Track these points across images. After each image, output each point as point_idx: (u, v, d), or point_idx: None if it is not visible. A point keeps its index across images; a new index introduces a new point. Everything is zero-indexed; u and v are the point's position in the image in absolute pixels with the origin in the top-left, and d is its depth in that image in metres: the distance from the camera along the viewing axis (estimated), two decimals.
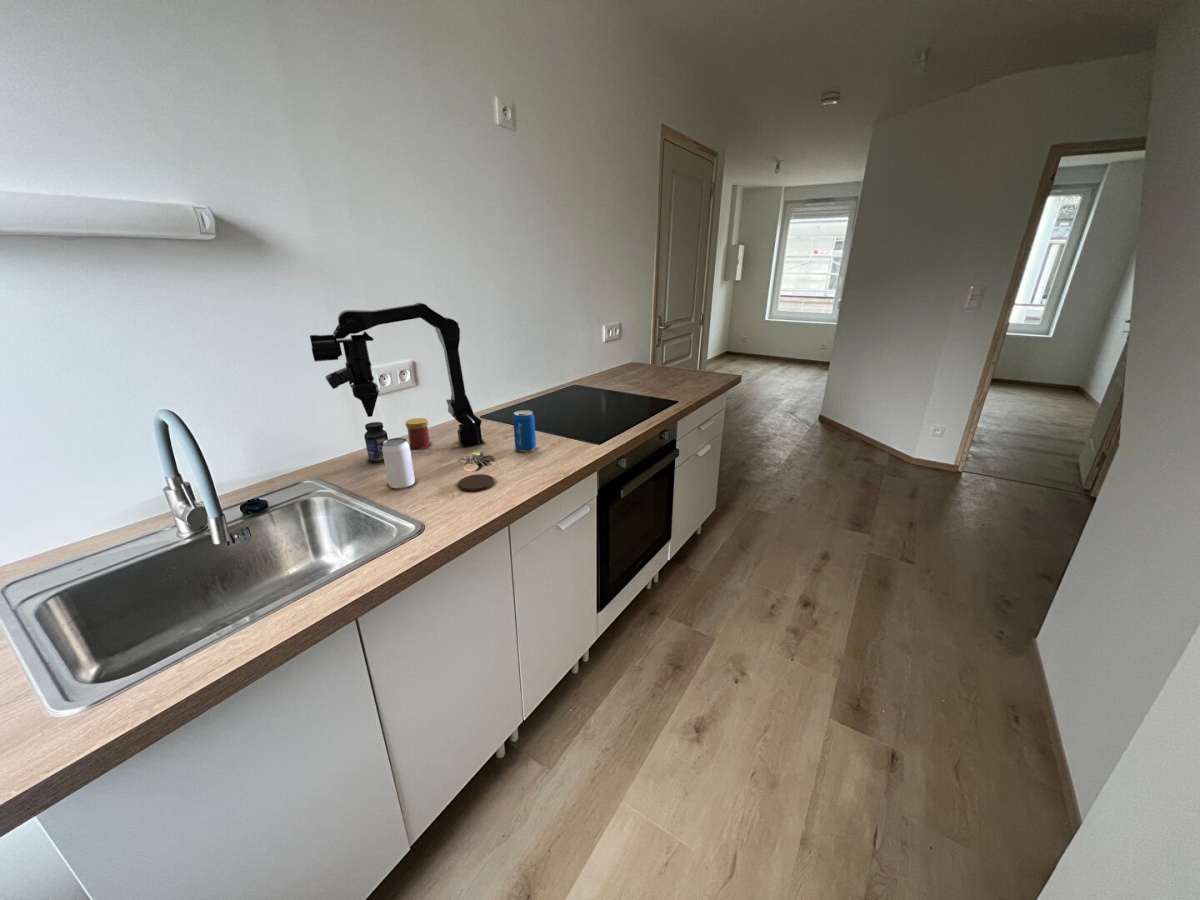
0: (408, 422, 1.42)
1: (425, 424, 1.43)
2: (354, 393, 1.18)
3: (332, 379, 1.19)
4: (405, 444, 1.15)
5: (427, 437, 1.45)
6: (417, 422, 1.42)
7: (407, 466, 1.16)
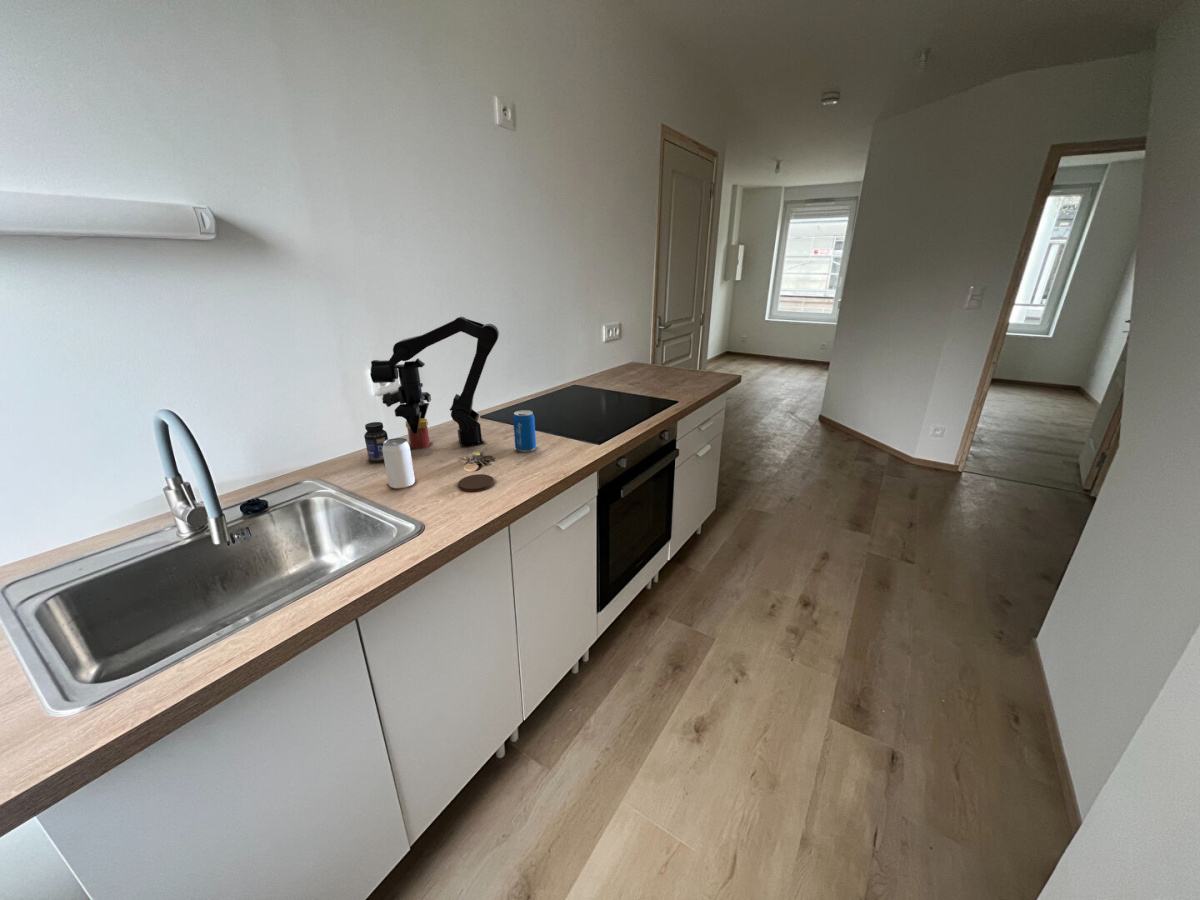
0: None
1: (425, 424, 1.43)
2: (395, 414, 1.33)
3: (384, 399, 1.36)
4: (405, 444, 1.15)
5: (427, 437, 1.45)
6: None
7: (407, 466, 1.16)
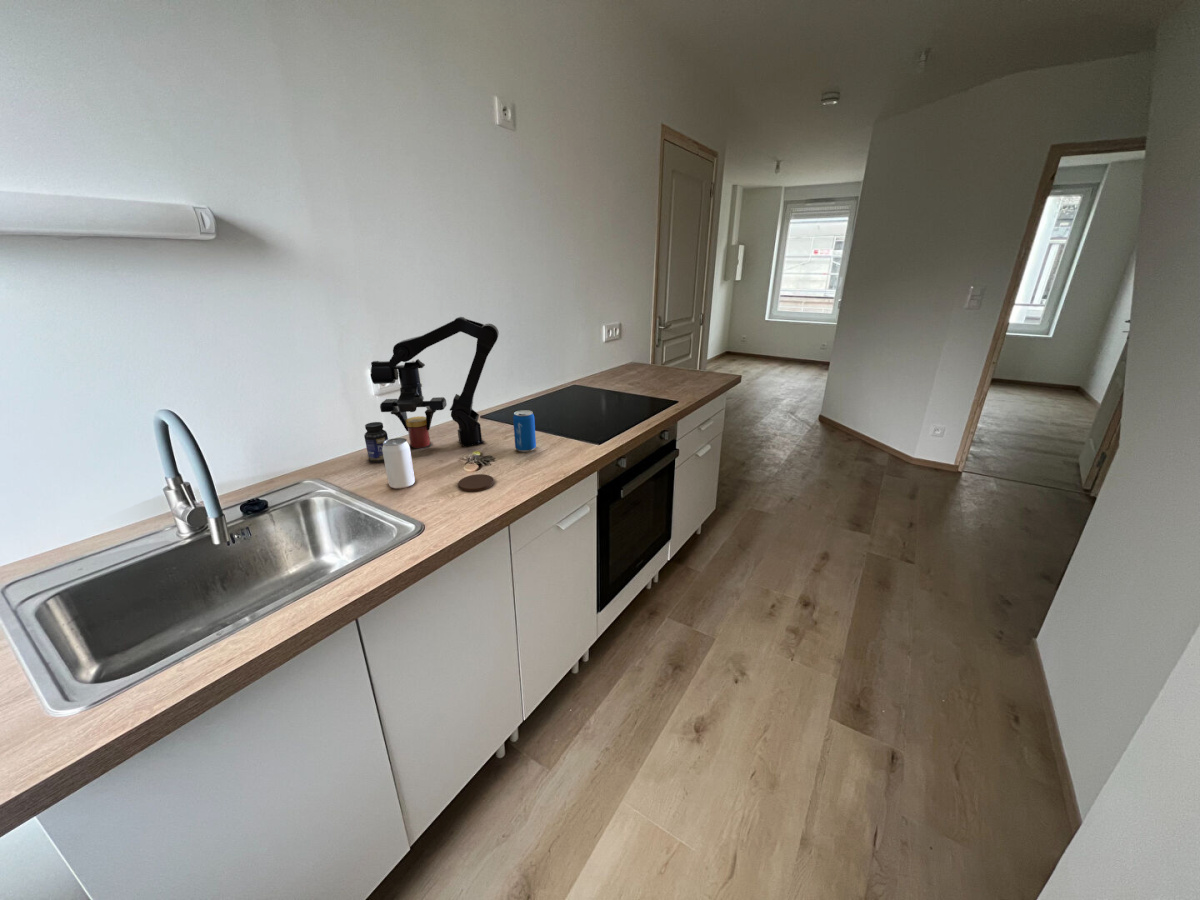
0: (418, 421, 1.41)
1: None
2: (442, 407, 1.40)
3: (420, 401, 1.34)
4: (405, 444, 1.15)
5: (427, 436, 1.45)
6: (422, 418, 1.44)
7: (407, 466, 1.16)
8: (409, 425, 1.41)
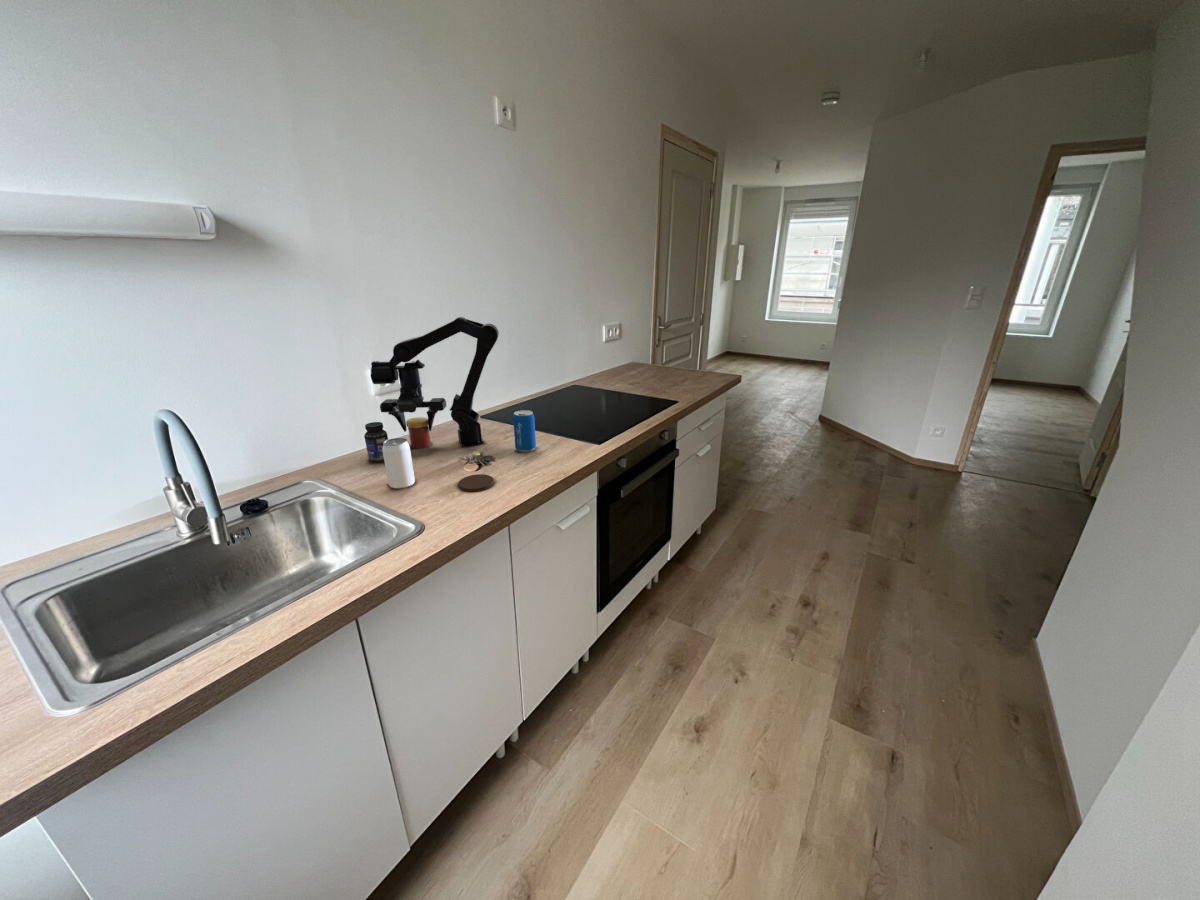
0: (419, 422, 1.41)
1: None
2: (441, 408, 1.40)
3: (420, 402, 1.34)
4: (405, 444, 1.15)
5: (428, 437, 1.45)
6: (423, 419, 1.44)
7: (407, 466, 1.16)
8: (410, 426, 1.41)
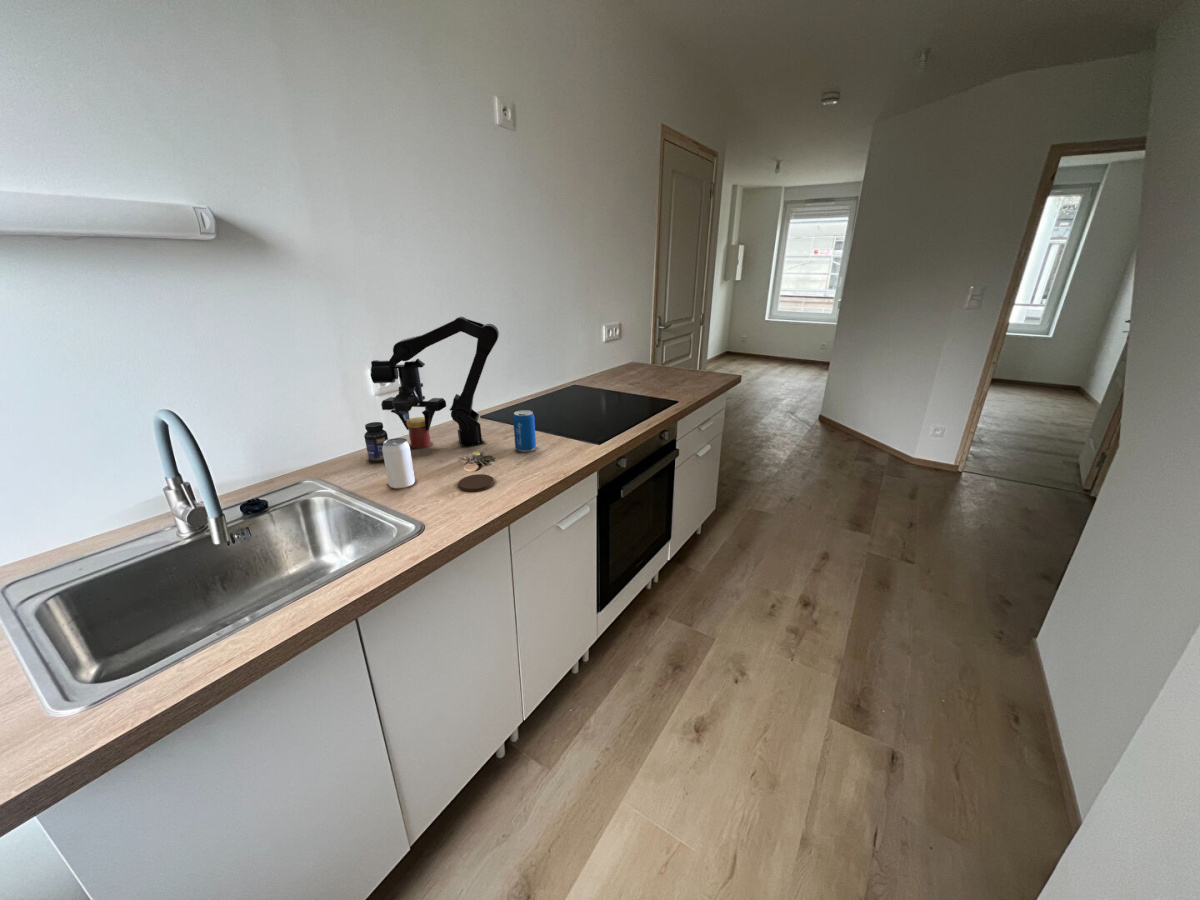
0: None
1: None
2: (438, 409, 1.38)
3: (414, 401, 1.33)
4: (405, 444, 1.15)
5: (428, 437, 1.45)
6: (417, 418, 1.45)
7: (407, 466, 1.16)
8: (423, 424, 1.42)
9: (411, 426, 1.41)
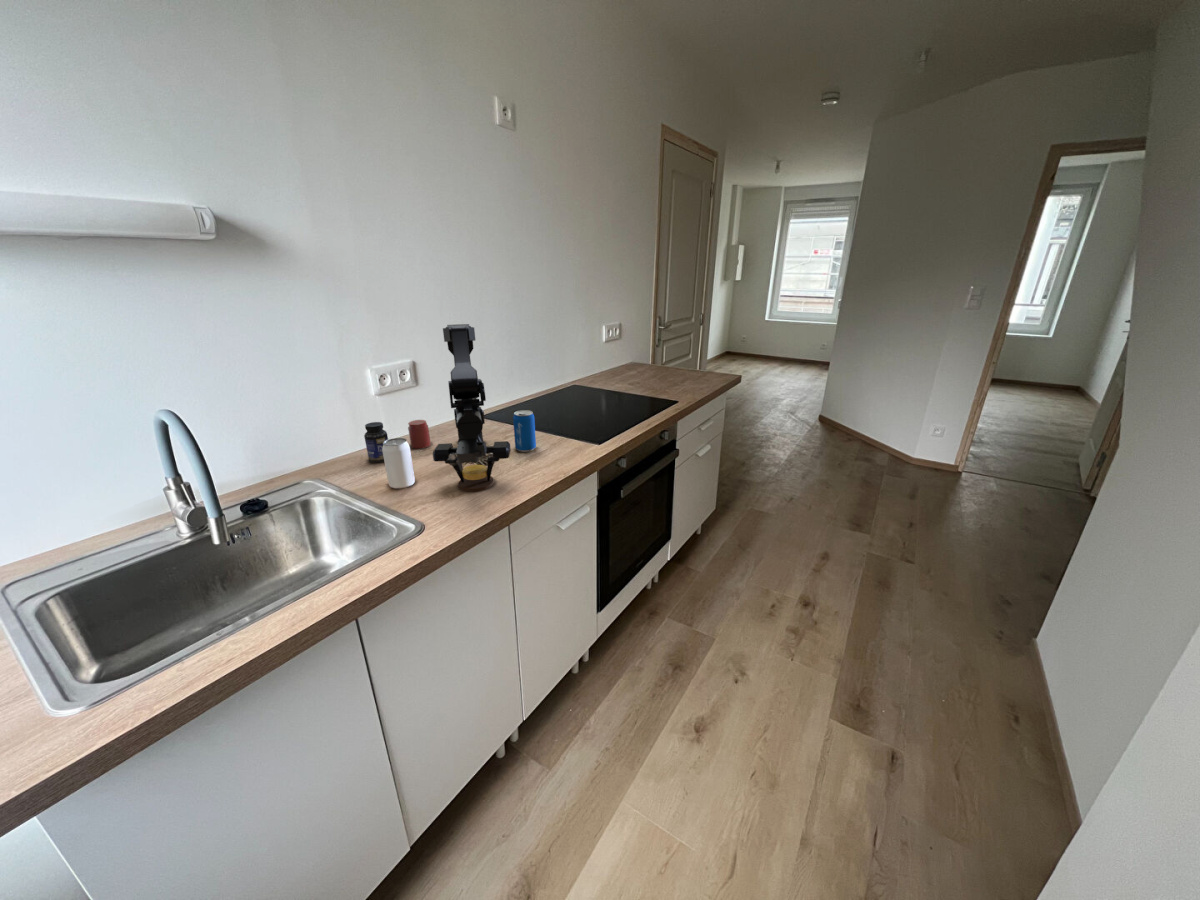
0: (483, 467, 1.19)
1: None
2: (507, 455, 1.14)
3: (485, 450, 1.09)
4: (405, 444, 1.15)
5: (428, 437, 1.45)
6: (473, 467, 1.19)
7: (407, 466, 1.16)
8: (485, 475, 1.17)
9: (471, 478, 1.15)
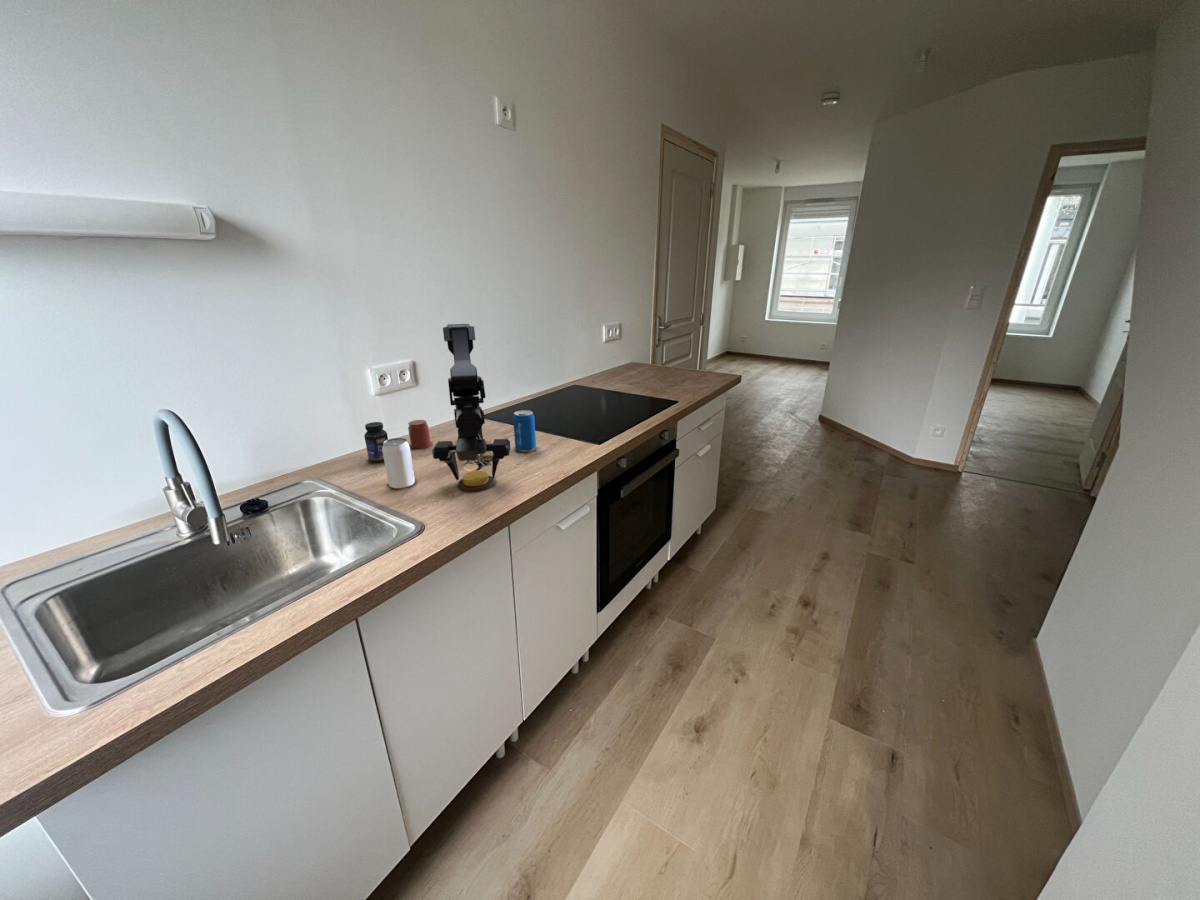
0: (484, 473, 1.20)
1: None
2: (507, 453, 1.14)
3: (484, 447, 1.09)
4: (405, 444, 1.15)
5: (428, 437, 1.45)
6: (473, 473, 1.20)
7: (407, 466, 1.16)
8: (485, 481, 1.18)
9: (472, 484, 1.16)
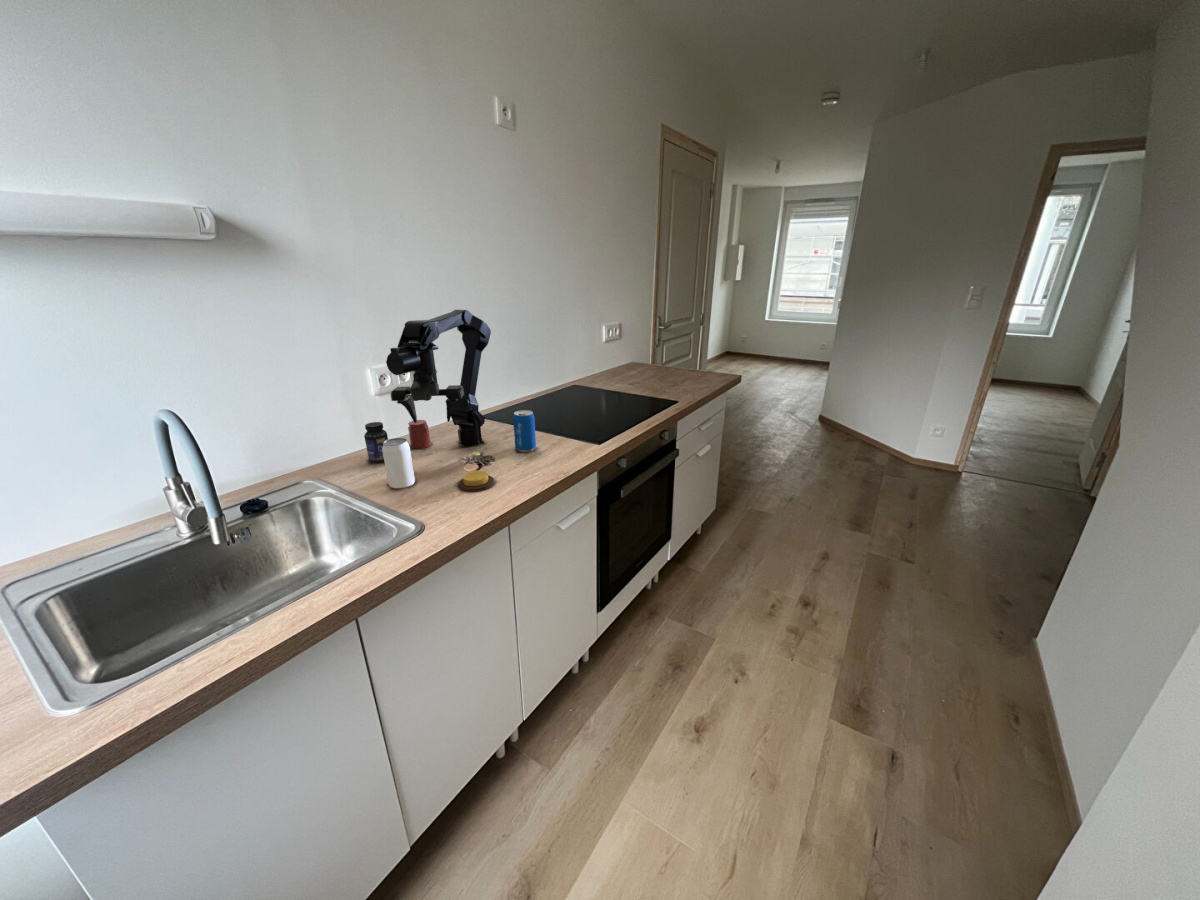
0: (484, 473, 1.20)
1: None
2: (459, 396, 1.25)
3: (436, 389, 1.20)
4: (405, 444, 1.15)
5: (428, 437, 1.45)
6: (473, 473, 1.20)
7: (407, 466, 1.16)
8: (485, 481, 1.18)
9: (472, 484, 1.16)
